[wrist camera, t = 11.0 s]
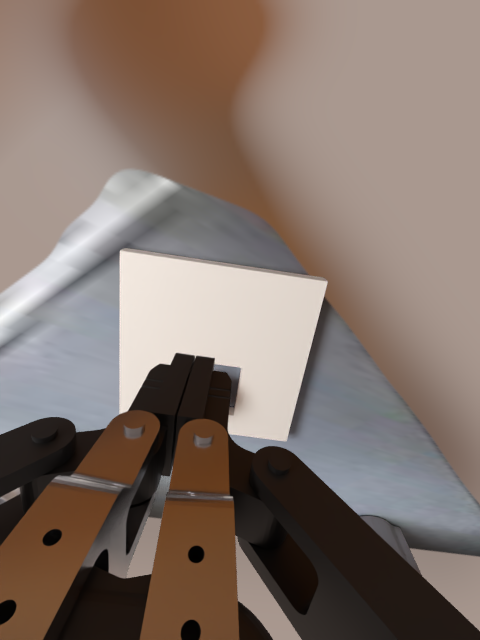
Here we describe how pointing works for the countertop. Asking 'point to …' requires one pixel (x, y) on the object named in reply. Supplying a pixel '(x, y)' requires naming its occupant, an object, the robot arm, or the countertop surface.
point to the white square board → (220, 330)
